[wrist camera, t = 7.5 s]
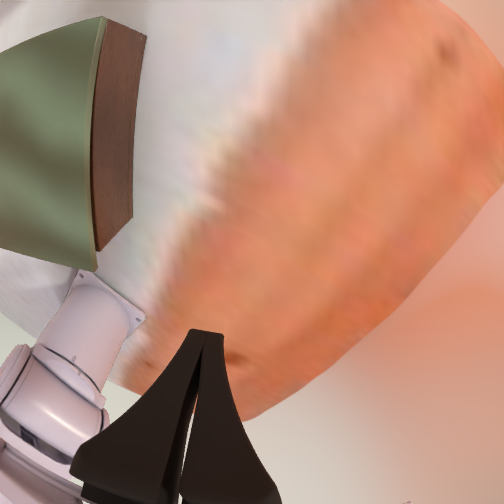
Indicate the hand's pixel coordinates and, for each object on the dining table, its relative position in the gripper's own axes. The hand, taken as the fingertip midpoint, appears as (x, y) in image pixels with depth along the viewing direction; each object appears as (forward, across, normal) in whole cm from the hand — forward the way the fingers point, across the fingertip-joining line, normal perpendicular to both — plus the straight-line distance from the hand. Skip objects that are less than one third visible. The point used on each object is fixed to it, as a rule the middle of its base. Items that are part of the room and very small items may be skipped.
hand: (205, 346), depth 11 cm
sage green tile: (+5, +13, -7) cm, 16 cm away
